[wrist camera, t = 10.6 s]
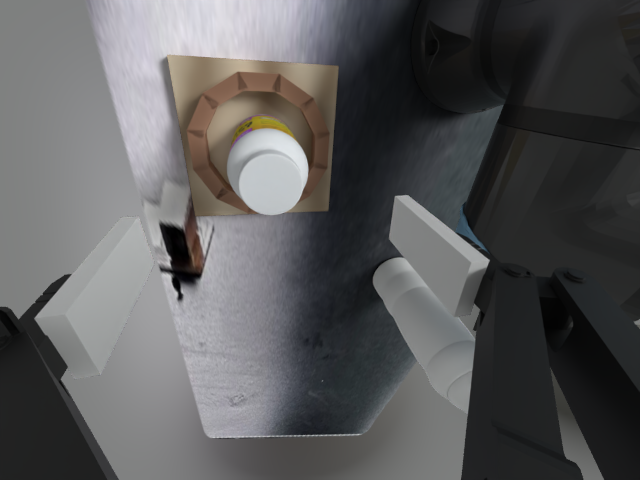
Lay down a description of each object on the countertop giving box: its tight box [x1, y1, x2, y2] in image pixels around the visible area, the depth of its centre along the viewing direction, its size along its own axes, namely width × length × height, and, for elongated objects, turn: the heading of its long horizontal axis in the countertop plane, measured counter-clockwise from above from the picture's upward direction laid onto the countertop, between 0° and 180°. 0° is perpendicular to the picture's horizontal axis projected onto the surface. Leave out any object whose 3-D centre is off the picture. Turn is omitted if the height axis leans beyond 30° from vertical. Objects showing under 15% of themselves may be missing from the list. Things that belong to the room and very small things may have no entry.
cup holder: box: [167, 55, 339, 216], centre depth 31 cm, size 16×16×3 cm
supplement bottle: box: [227, 114, 308, 215], centre depth 27 cm, size 7×7×13 cm
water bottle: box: [373, 258, 475, 415], centre depth 36 cm, size 7×7×25 cm
